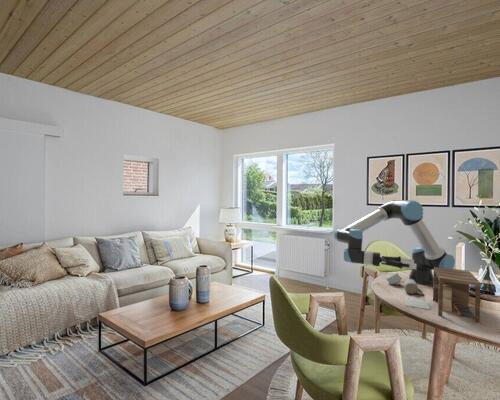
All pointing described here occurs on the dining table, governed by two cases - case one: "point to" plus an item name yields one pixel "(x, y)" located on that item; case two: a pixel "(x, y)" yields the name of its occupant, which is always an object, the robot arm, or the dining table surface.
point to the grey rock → (393, 278)
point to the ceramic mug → (411, 287)
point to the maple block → (447, 297)
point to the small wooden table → (456, 290)
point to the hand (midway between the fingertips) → (415, 264)
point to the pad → (417, 304)
